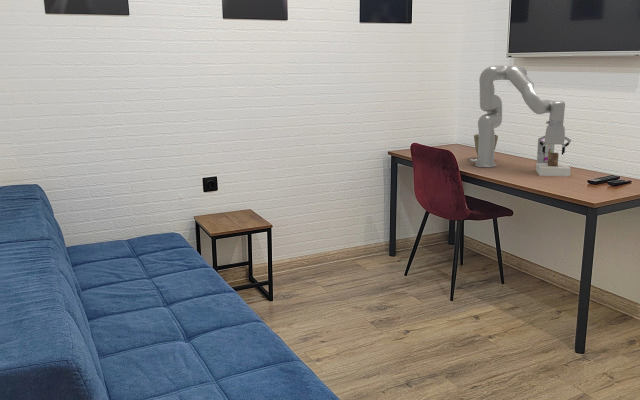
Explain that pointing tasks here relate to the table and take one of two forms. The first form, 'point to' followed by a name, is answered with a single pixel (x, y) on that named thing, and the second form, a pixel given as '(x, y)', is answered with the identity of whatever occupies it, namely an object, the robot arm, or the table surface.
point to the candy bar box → (548, 149)
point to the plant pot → (476, 138)
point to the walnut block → (553, 159)
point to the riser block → (552, 170)
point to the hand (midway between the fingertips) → (553, 153)
